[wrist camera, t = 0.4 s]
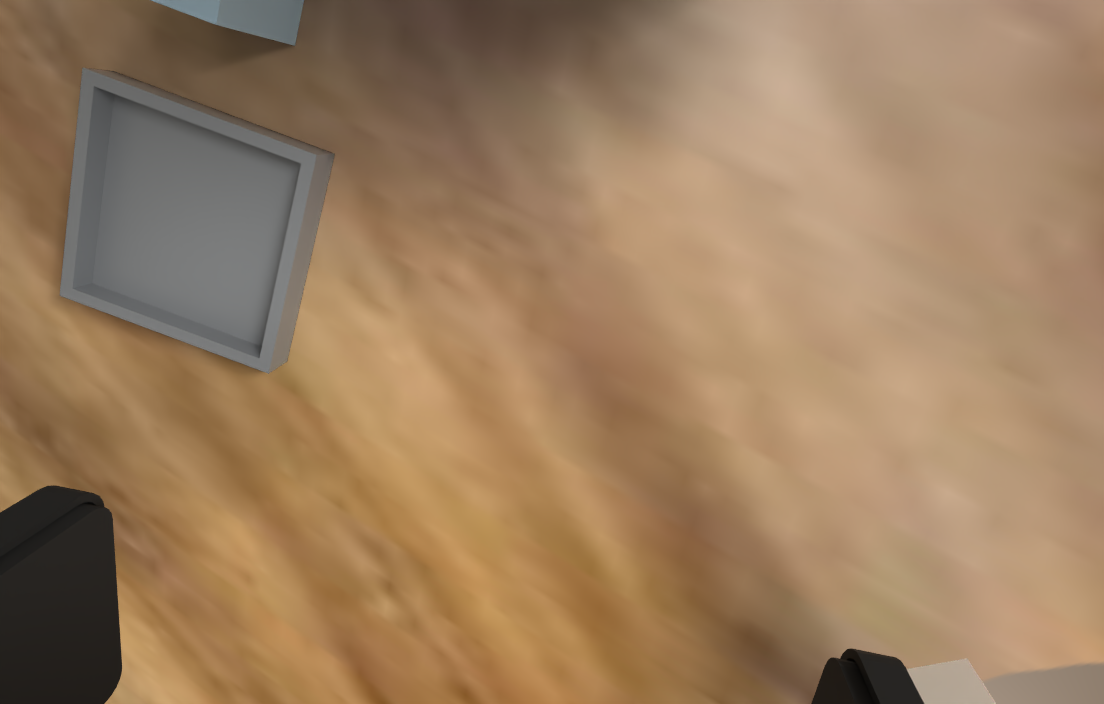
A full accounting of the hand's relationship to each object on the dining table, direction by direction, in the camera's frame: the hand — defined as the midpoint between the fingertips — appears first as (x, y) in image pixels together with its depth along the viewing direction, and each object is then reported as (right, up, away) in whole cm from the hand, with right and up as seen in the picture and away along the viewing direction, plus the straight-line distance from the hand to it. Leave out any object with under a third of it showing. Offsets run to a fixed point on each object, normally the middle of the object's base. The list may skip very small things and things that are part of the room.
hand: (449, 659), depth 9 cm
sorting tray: (-21, +12, +35) cm, 43 cm away
